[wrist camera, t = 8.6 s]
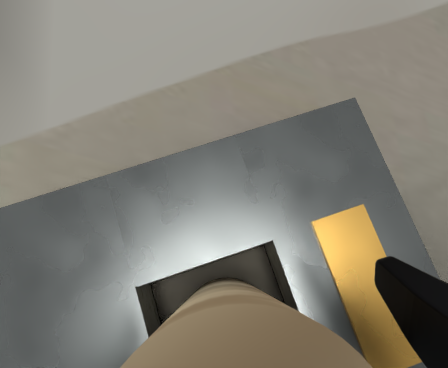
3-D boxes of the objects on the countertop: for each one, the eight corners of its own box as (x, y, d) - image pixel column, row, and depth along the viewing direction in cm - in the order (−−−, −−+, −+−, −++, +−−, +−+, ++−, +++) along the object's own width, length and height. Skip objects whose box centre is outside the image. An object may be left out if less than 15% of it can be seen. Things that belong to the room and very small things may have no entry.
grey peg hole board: (472, 435, 15) (536, 478, 12) (80, 600, 14) (40, 696, 11) (334, 123, 19) (356, 95, 16) (9, 226, 17) (-36, 217, 14)
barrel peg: (291, 325, 16) (494, 488, 4) (227, 397, 16) (251, 845, 4) (227, 259, 17) (246, 238, 5) (162, 324, 16) (-2, 489, 4)
